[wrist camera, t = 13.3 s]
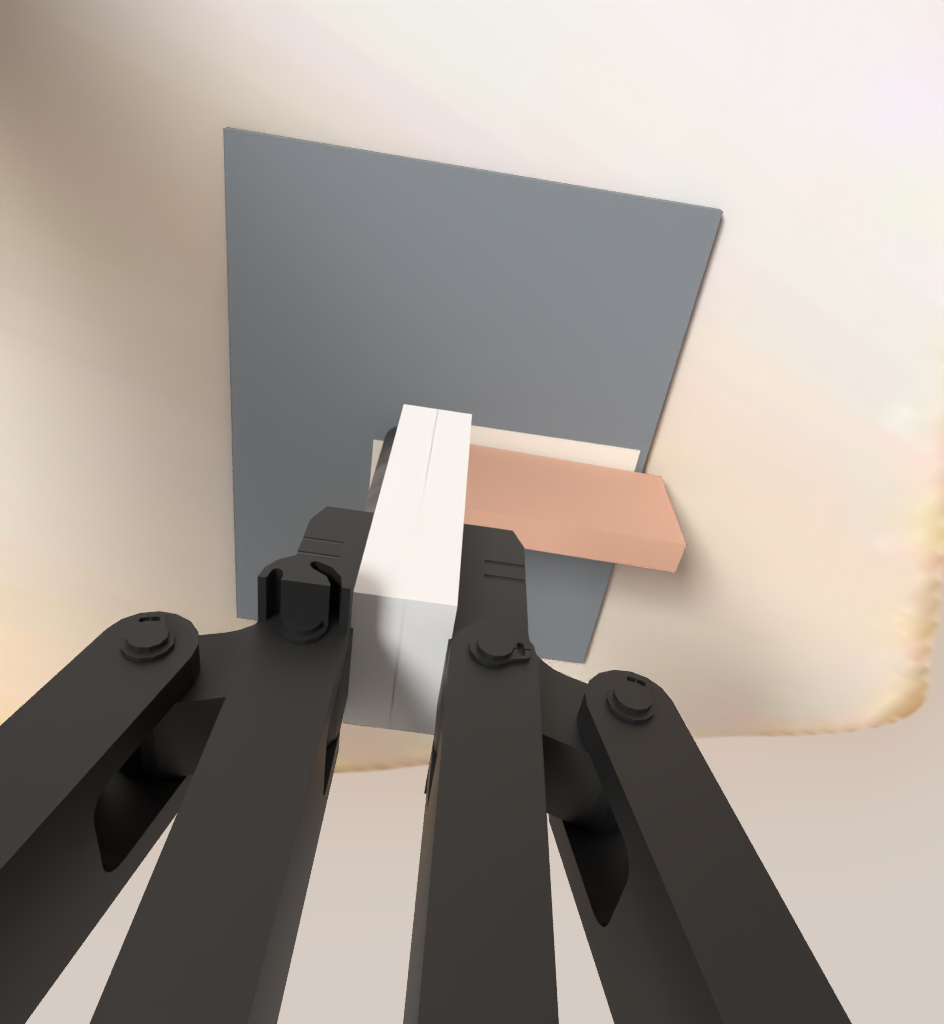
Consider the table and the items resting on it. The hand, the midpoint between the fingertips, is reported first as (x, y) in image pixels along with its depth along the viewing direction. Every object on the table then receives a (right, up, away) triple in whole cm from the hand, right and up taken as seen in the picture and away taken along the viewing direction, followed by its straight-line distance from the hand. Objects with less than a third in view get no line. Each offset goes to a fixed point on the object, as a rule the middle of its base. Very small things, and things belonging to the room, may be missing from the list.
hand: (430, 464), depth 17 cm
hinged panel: (+5, +1, +27) cm, 27 cm away
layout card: (-1, +3, +27) cm, 27 cm away
